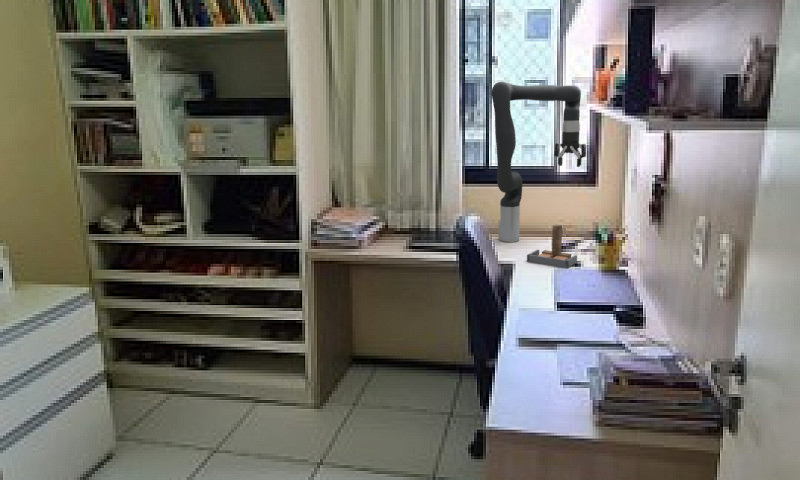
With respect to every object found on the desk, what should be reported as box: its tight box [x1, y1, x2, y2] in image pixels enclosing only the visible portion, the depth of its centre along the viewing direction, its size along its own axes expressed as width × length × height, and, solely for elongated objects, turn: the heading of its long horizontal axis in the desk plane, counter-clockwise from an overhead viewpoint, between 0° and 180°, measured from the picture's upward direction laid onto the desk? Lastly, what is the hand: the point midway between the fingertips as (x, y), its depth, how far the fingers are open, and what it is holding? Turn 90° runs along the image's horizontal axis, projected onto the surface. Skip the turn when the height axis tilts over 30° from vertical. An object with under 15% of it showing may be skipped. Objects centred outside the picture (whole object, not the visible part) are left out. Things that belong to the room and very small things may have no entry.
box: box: [526, 249, 578, 269], centre depth 246 cm, size 18×10×3 cm, turn 52°
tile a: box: [538, 253, 553, 258], centre depth 248 cm, size 5×5×2 cm
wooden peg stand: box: [541, 224, 572, 259], centre depth 248 cm, size 12×3×15 cm, turn 52°
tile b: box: [554, 256, 568, 260], centre depth 244 cm, size 5×5×2 cm
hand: (569, 166), depth 269 cm, fingers open, 8 cm apart
